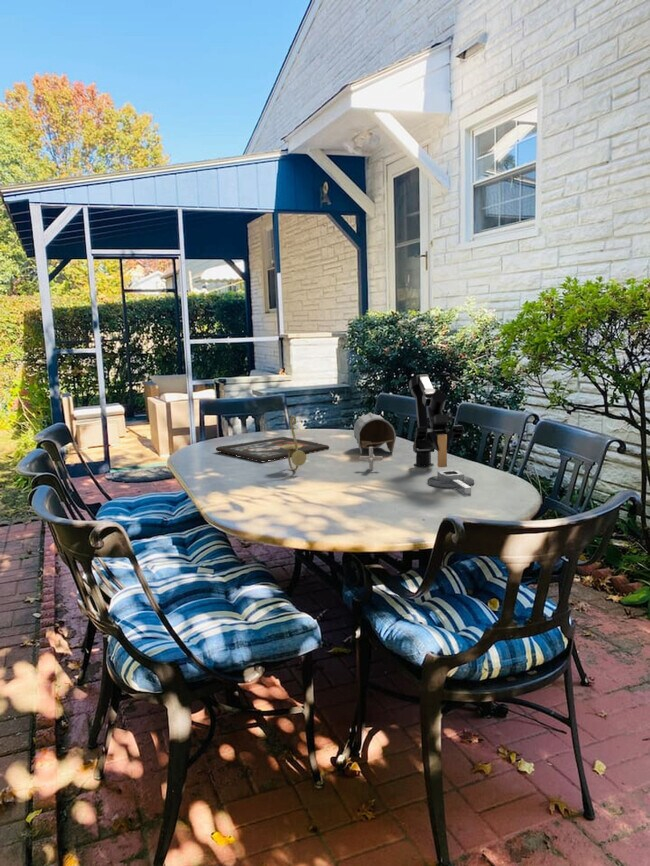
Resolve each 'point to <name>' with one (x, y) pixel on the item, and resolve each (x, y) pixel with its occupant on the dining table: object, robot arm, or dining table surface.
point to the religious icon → (269, 448)
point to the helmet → (374, 432)
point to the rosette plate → (452, 481)
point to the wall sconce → (297, 456)
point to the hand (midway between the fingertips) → (443, 450)
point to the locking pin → (442, 450)
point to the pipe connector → (371, 458)
